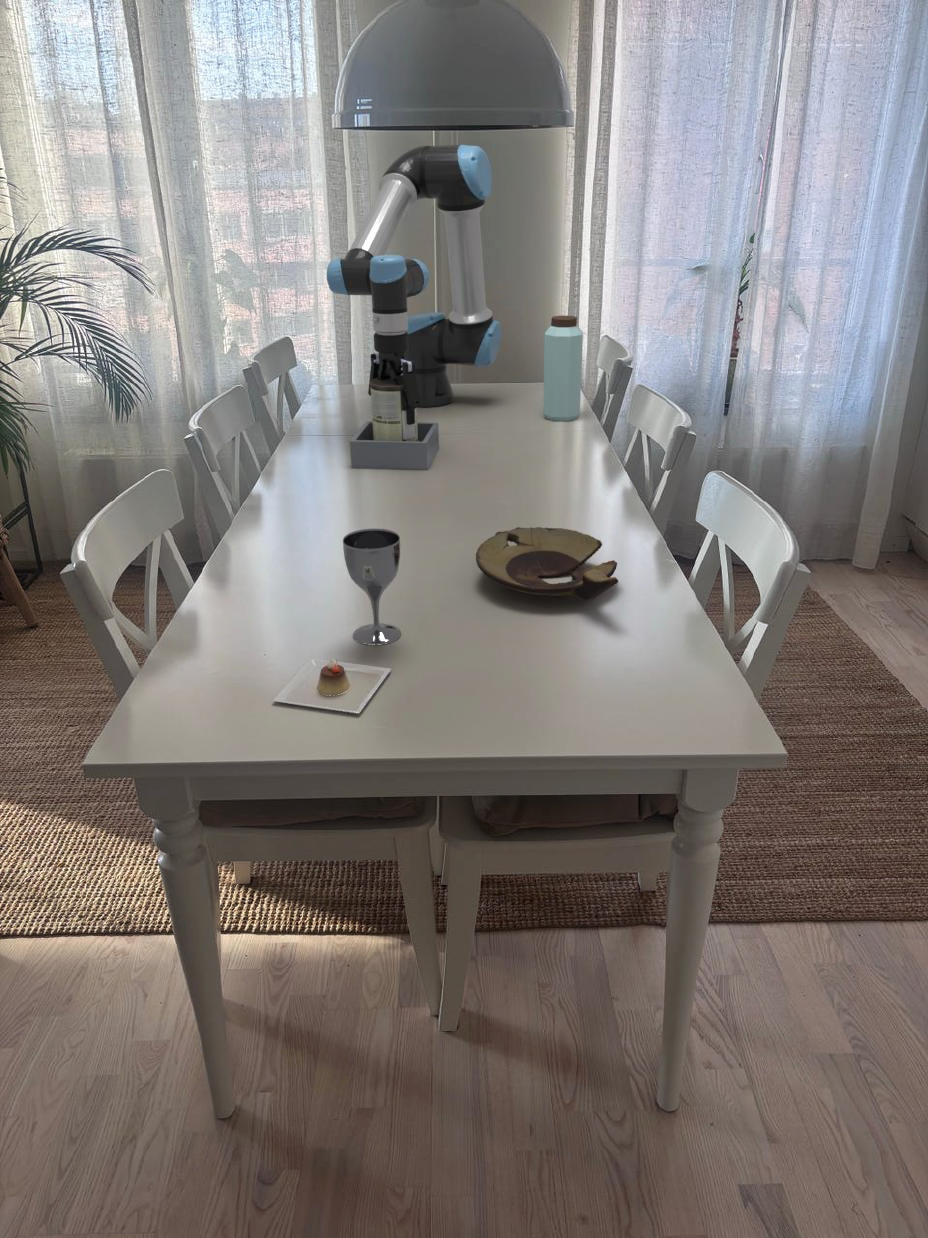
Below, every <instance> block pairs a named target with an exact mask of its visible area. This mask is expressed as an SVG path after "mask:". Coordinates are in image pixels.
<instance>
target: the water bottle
mask: <svg viewBox="0 0 928 1238" xmlns="http://www.w3.org/2000/svg"><path fill="white" fill-rule="evenodd" d="M577 322H578V316H575V315H555V316H552V317H551V323H550V326H549V327H548V328H547V330H546V331H545V332H544V348H543V349H544V353H543V354H544V356H543V357H544V358H543V362H544V363H543V399H542V400H543V402H542V403H543V406H542V407H543V408H542V414H543V416H544V418H545V419H547V420H550V421H553V422H570V421H574V420H577V419H578V417H579V416H580V412H581V396H582V395H581V394H582V393H581V391H582V389H581V388H582V368H583V367H582V364H583V363H582V362H583V340H584V335H583V334H584V331H583V330H582V329H581V328H580V327H579V326H578V325H577Z"/></svg>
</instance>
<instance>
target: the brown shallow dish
mask: <svg viewBox="0 0 928 1238" xmlns="http://www.w3.org/2000/svg"><path fill="white" fill-rule="evenodd" d="M508 542H511V543H514V544H516V545H509V543H508ZM602 546H603V543H602V541H601V540H599V539H597V538H595V537H594V536H591V535H590V534H586V533H582V532H581V531H580V532H579V531H578V530H572V529H568V528H561V527H560V528H559V527H557V528H556V527H555V528H553V527H551V528H550V527H542V526H540V527H538V526H536V527H532V526H531V527H520V526H519V527H518V526H517V527H515V528H514V529H510V530H504V531H497V532H495V534H494V536H491V537H489V538H488V539H486V540H485V541H483V542H482V543H481V544H480V545H479V547H478V548H477V549H476V554H475V561H476V565H477V568H478V569H479V570H480V571H481V572H482V573H483V574H484V576H486V577H487V578H488V579H490V580H491V581H492V582H494V583H496V584H498V585H500V586H502V587H505V588H508V589H511V590H514V591H517V592H520V593H521V592H522V593H526V594H529V595H530V594H531V595H537V596H553V597H554V596H560V597H561V596H575V597H577V598H579V599H580V600H583V601H593V600H594V599H596V598H597V597H599V596H600V595H602V594H603V593H605V592H606V591H608V590H610V589H612V588H613V587H614V586H615V585H617V584H618V583H619V580H618V578H617V577H615V576H613V575H614V574H615V571H616V570H617V566H618V562H617V561H616V560H614V559H613V560H610V561H609V560H608V561H606V562H604V561H603V562H602V563H600V564H597V565H593V566H590V567H586V568H582V569H579V567H581V566H583V565H584V564H585V563H586V562H587V561H588V560H589V559H590V558H591V557H593V555H595V554H596V553H597V552H598V551H599V550H600V549H601V547H602ZM578 569H579V570H578ZM569 574H570V576H571V578H572V580H570V581H567V582H558V583H549V582H547V581H545V580H544V579H543V578H544V577H545V578H546V577H549V578H551V577H553V578H554V577H562V576H564V575H569ZM542 577H543V578H542Z"/></svg>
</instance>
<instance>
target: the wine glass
mask: <svg viewBox="0 0 928 1238" xmlns="http://www.w3.org/2000/svg"><path fill="white" fill-rule="evenodd" d="M342 547H343V555H344V556H343V557H344V561H345V566H346V568H347V569H346V570H347V571H348V575H349V577H350V579H351V580H352V581H353V582H354V584H356V586H358V587H359V588H360V589H361V590H363V592H364V593H365V594H366V595H367V597H368V599H369V601H370V605H371V609H372V615H373V616H372V617H373V623H369V624H365V625H362V626H359V627H358V628H356V629H355V630H354V632H353V633H352V638H354V639H355V640H357V641H358V642H360V643H359V644H361V643H366V644H375V645H378V644H385V643H389V644H392V643H394V642H396V641H397V640H399V639H400V638H401V636H402V631H401V629H400V628H399V627H398V626H396V625H393V624H389V623H384V622H383V623H382V622H380V619H379V618H380V617H379V614H380V601H381V598H382V595H383V593H384V592H385V591H386V590H387V588H388V587H389V586H390V585H391V583H393V581H394V580H395V579H396V577H397V575H398V571H399V566H400V560H401V539H400V535H399V534H398V533H397V532H396V531H393V530H391V529H386V528H365V529H364V528H363V529H358V530H354V531H352V532H349V533H347V534H346V535H345V536H344V537H343V539H342ZM354 639H353V640H354ZM355 640H354V641H355ZM358 642H357V643H358ZM391 642H392V643H391ZM385 645H386V644H385ZM378 646H379V645H378Z"/></svg>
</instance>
